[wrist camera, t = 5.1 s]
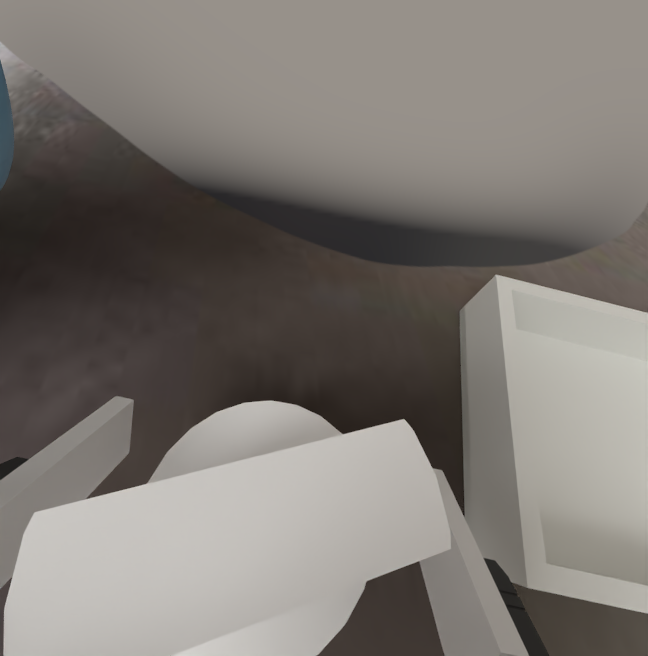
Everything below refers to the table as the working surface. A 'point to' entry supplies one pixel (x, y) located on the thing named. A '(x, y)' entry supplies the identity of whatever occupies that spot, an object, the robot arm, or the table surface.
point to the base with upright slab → (229, 542)
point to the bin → (557, 440)
